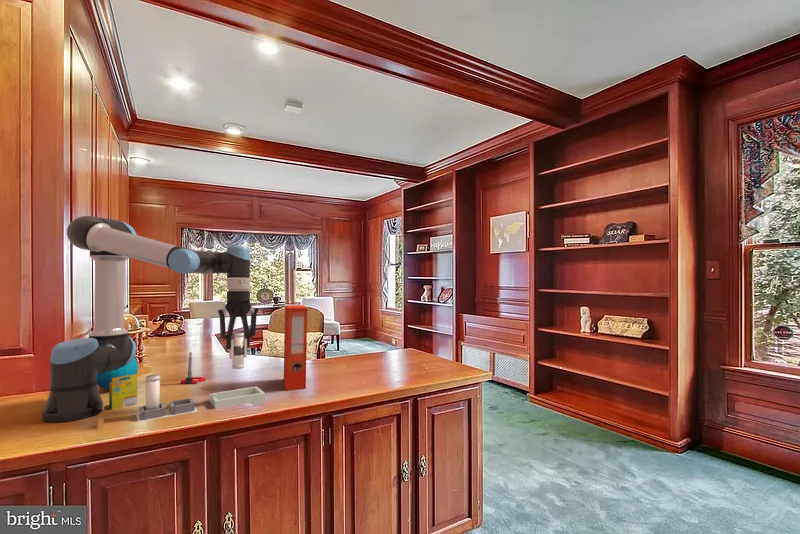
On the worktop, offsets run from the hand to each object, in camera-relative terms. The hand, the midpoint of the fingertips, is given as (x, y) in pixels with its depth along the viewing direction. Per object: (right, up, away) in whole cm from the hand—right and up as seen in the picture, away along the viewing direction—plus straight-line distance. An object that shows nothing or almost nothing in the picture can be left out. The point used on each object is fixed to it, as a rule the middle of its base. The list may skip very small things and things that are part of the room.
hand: (238, 357), depth 137 cm
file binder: (+13, -17, +26) cm, 34 cm away
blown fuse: (0, -4, 0) cm, 4 cm away
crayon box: (-35, -16, -7) cm, 39 cm away
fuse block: (-17, -16, -13) cm, 27 cm away
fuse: (-20, -14, -15) cm, 29 cm away
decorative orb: (-56, -17, +18) cm, 61 cm away
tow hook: (-31, -17, +30) cm, 46 cm away
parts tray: (0, -16, 0) cm, 16 cm away
